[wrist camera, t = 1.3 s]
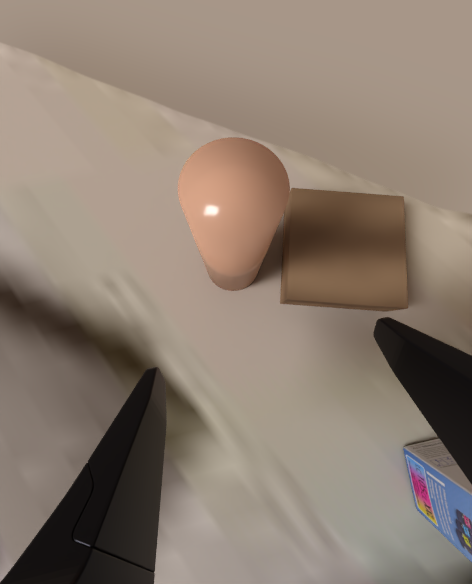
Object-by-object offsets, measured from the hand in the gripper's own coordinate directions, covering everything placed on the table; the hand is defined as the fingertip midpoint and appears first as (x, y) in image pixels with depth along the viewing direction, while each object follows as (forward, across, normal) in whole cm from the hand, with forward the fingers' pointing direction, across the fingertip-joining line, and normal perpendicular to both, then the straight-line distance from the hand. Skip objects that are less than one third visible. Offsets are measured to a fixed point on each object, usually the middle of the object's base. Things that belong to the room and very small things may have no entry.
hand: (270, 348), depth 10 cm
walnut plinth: (+14, -10, +5) cm, 17 cm away
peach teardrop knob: (+14, 0, +4) cm, 15 cm away
